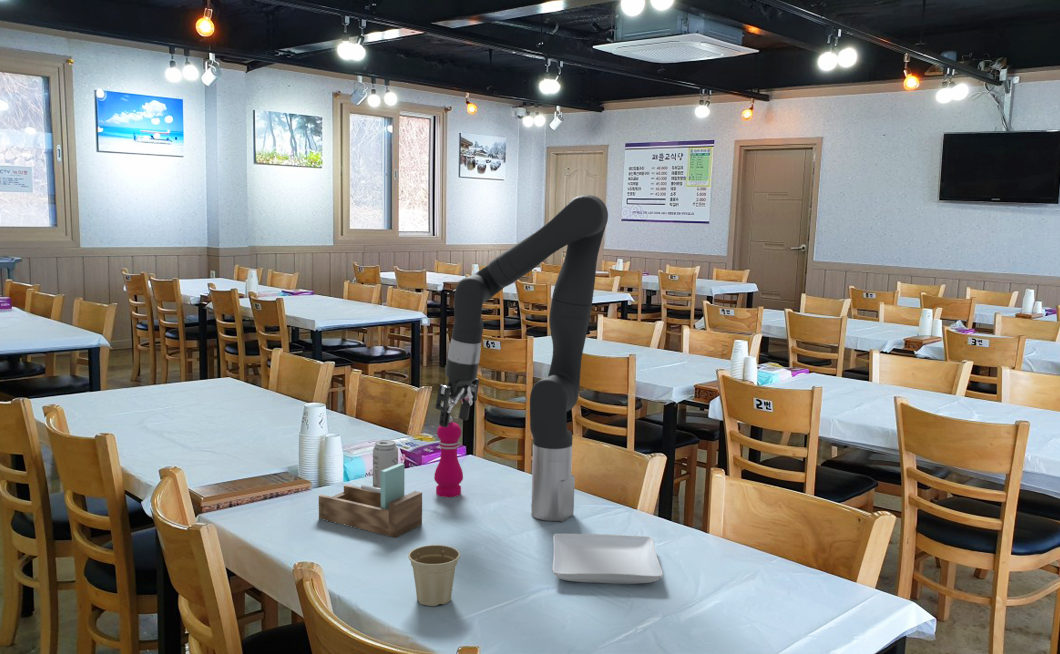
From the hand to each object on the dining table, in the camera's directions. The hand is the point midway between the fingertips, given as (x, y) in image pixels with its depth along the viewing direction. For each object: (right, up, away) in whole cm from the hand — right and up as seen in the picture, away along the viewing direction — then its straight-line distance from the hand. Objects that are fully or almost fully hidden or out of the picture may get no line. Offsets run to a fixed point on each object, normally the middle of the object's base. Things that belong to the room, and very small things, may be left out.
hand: (453, 422), depth 206 cm
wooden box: (-18, -21, -11) cm, 30 cm away
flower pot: (+1, -27, -49) cm, 56 cm away
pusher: (-16, -20, -12) cm, 28 cm away
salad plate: (+34, -26, -33) cm, 53 cm away
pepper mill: (-2, -19, +10) cm, 22 cm away
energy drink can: (-17, -20, +2) cm, 26 cm away
